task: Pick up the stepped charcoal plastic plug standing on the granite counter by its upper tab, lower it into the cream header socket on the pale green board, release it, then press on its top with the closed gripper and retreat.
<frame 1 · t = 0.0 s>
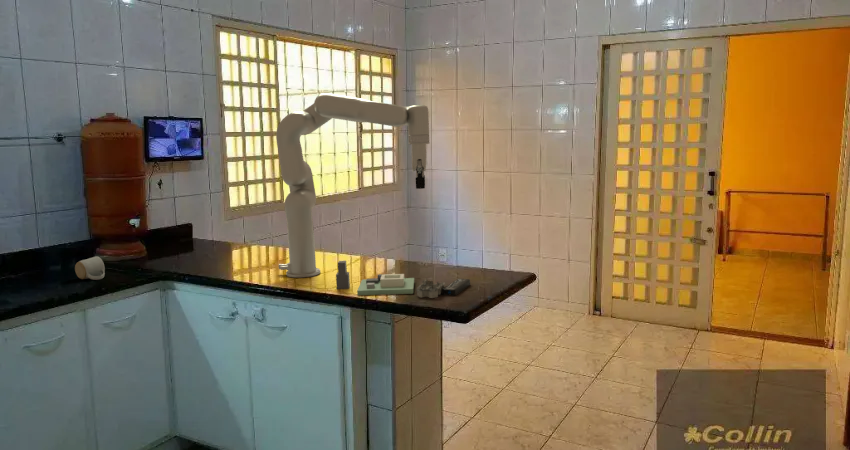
hand: (420, 187, 228), 31 cm above the worktop, tool pointing down, fingers open, 9 cm apart
egg carton: (431, 294, 200), on the worktop
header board: (386, 288, 208), on the worktop
plug: (343, 287, 212), on the worktop
ceramic mug: (93, 278, 240), on the worktop
multiport hub: (456, 291, 204), on the worktop
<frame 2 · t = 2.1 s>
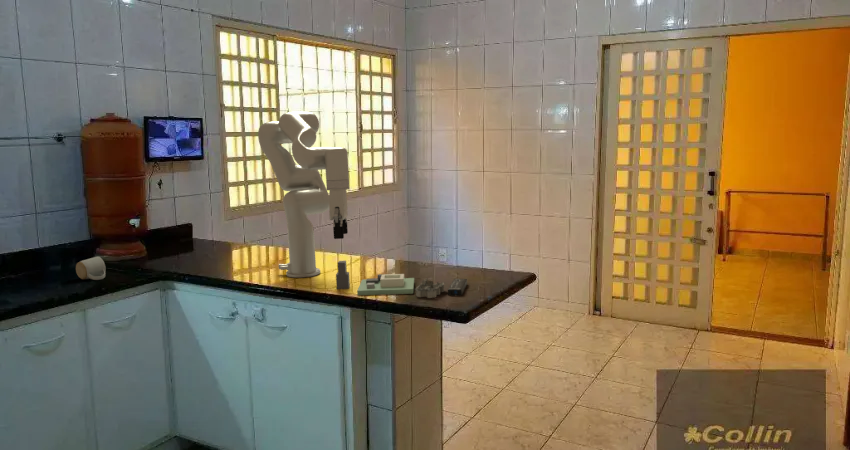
hand: (340, 236, 209), 18 cm above the worktop, tool pointing down, fingers open, 9 cm apart
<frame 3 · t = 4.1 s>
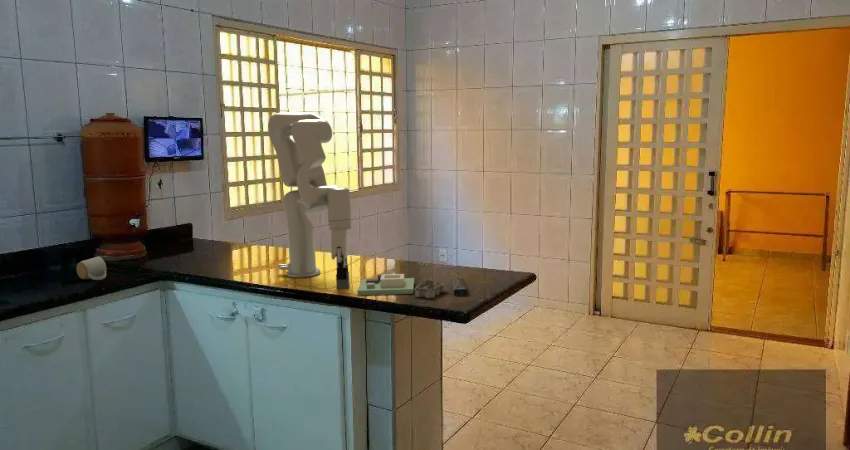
hand: (342, 277, 211), 4 cm above the worktop, tool pointing down, fingers closed on plug, 3 cm apart
plug: (343, 287, 212), on the worktop, touching gripper
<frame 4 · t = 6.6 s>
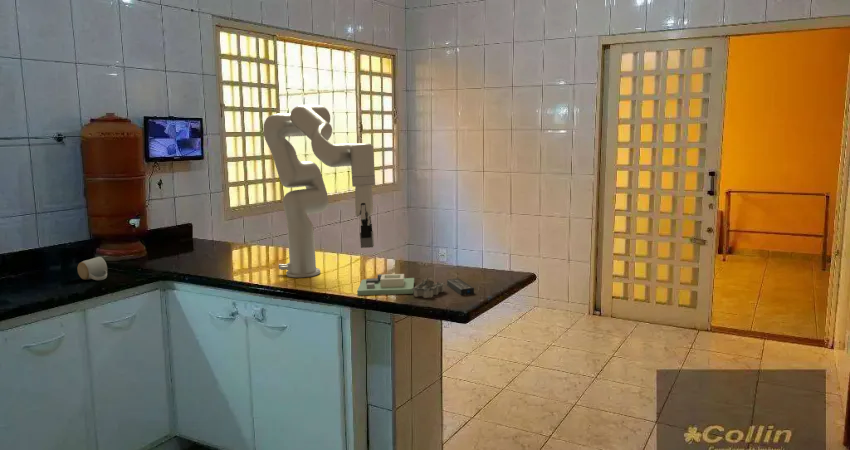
hand: (366, 236, 207), 18 cm above the worktop, tool pointing down, fingers closed on plug, 3 cm apart
plug: (367, 246, 207), point 14 cm above the worktop, touching gripper
when the fingers open (6 cm above the worktop, at t = 9.2 s): plug stays where it is, resting on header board.
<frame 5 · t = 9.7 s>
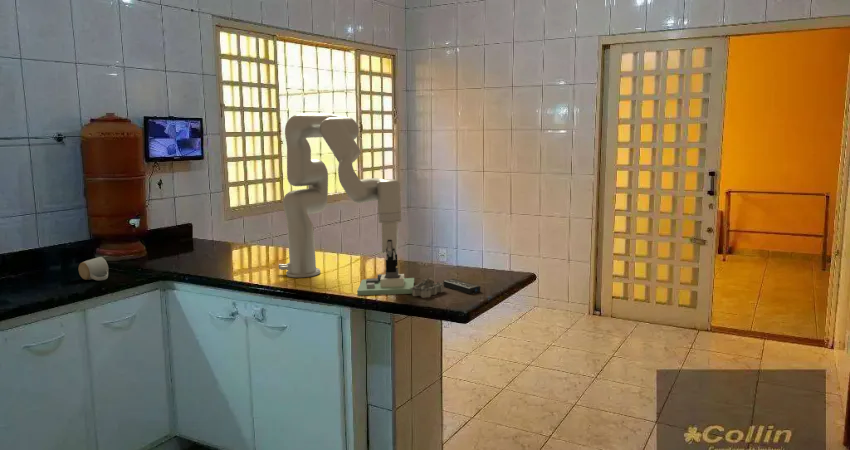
hand: (392, 268, 207), 7 cm above the worktop, tool pointing down, fingers open, 8 cm apart
plug: (392, 283, 208), point 1 cm above the worktop, touching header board
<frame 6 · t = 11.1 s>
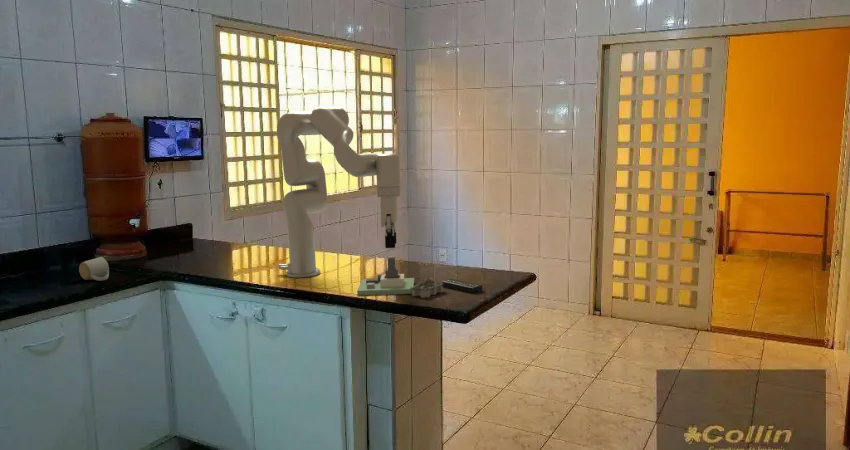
hand: (391, 245, 206), 15 cm above the worktop, tool pointing down, fingers open, 6 cm apart
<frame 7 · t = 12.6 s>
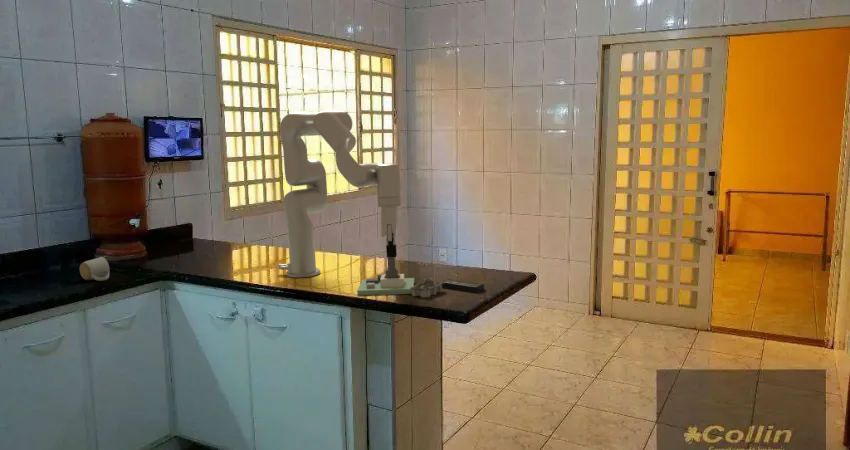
hand: (391, 256, 207), 11 cm above the worktop, tool pointing down, fingers closed
plug: (392, 283, 208), point 2 cm above the worktop, touching gripper, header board
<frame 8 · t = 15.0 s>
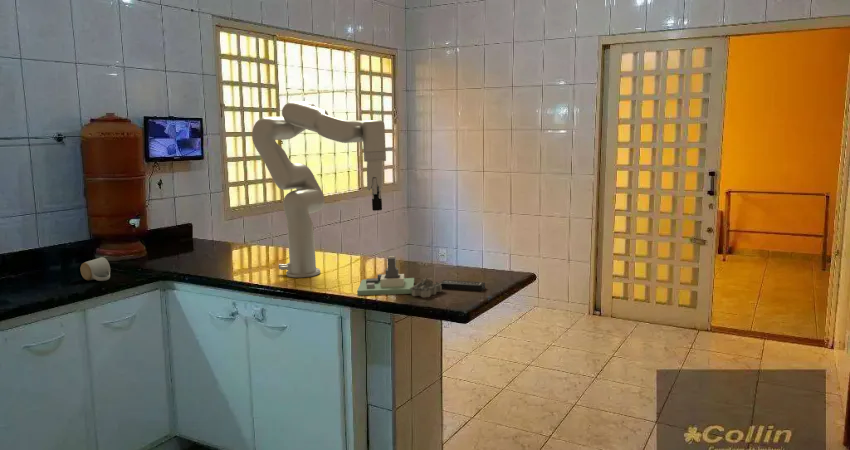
hand: (377, 210, 215), 25 cm above the worktop, tool pointing down, fingers closed
plug: (392, 283, 208), point 1 cm above the worktop, touching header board
at the end: plug 0.0 cm from the target spot on the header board, point 1.5 cm above the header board's base; plug tilted 0°; the gripper is holding nothing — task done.
